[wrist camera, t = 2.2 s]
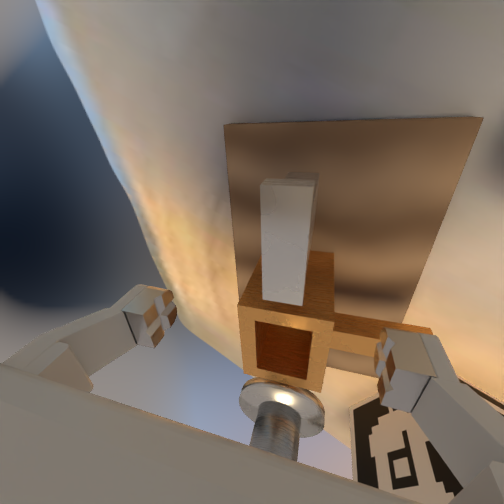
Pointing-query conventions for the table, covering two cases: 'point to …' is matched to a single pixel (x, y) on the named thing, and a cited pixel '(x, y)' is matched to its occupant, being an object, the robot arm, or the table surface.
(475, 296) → the table surface
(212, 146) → the table surface
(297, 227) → the wedge pin
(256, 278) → the ringlock node
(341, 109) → the table surface
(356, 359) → the base board
